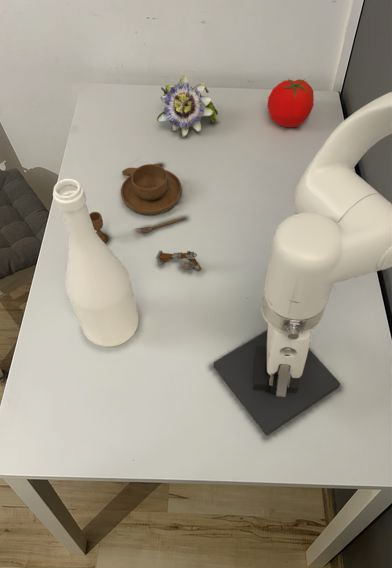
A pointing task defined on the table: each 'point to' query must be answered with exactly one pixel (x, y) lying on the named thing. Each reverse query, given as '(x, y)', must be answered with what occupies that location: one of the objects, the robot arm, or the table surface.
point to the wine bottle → (94, 274)
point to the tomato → (290, 102)
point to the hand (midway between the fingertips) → (276, 369)
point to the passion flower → (186, 106)
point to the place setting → (145, 194)
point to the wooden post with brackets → (180, 258)
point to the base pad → (264, 405)
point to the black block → (259, 372)
